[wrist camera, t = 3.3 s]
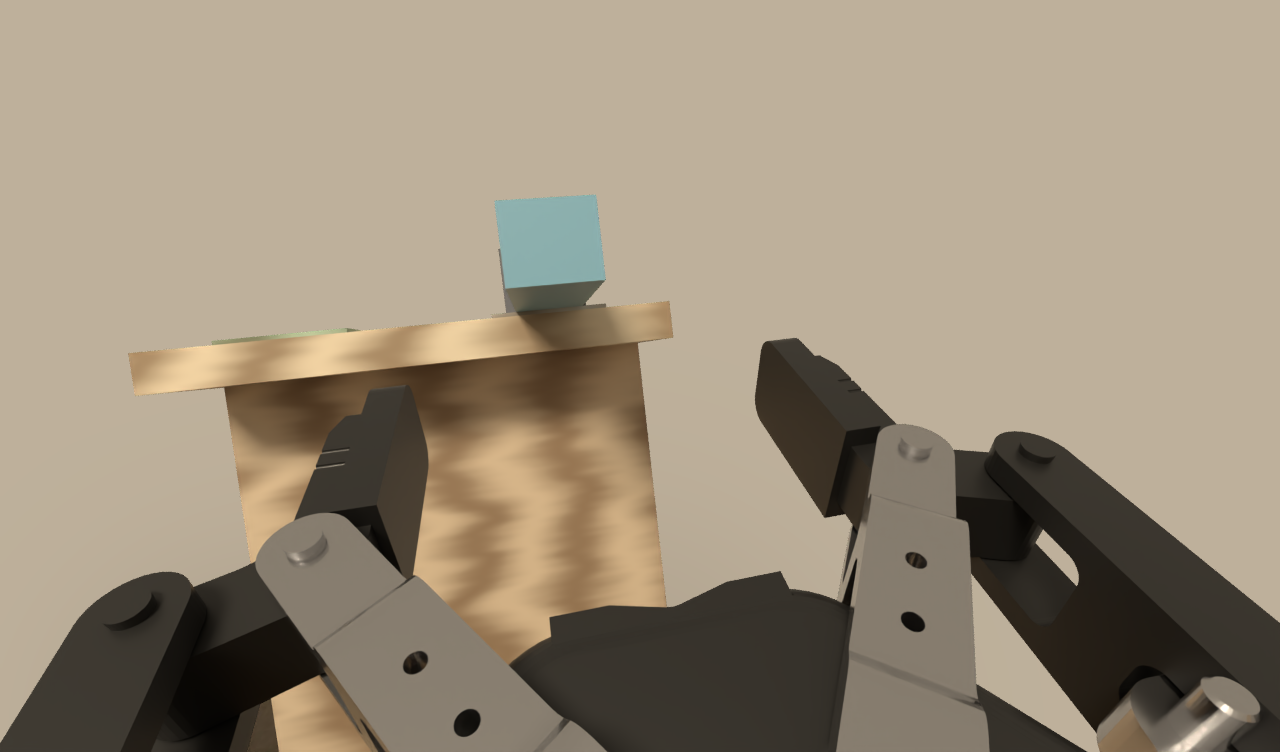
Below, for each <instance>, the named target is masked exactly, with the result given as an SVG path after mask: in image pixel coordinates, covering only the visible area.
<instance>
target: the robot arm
mask: <svg viewBox="0 0 1280 752" xmlns="http://www.w3.org/2000/svg"><path fill="white" fill-rule="evenodd" d="M755 405H756V410H757V414H758V417H759V419H760V421H761V422H762V424H763V425H764V427H765V428H766V430H767V431H768V433H769V434H770V436H771V437H772V439H773V441H774V442H775V443H776V445H777V447H778V448H779V450H780V451H781V453H782V454H783V455H784V457H785V459H786V460H787V461H788V463H789V465H790V466H791V468H792V469H793V471H794V472H795V474H796V475H797V477H798V478H799V480H800V481H801V483H802V484H803V486H804V487H805V489H806V490H807V492H808V493H809V495H810V496H811V498H812V499H813V501H814V502H815V504H816V506H817V507H818V509H819V510H820V511H821V513H822V515H823V516H824V517H825V518H826V517H832V516H837V515H843V514H846V516H847V517H848V518H849V520H850V521H851V523H852V526H851V529H850V533H849V538H848V544H847V549H846V554H845V560H844V565H843V571H842V576H841V582H840V588H839V592H838V597H837V600H835V599H832V598H829V597H827V596H824V595H820V594H816V593H813V592H809V591H802V590H796V589H789V587H788V585H787V583H786V581H785V579H784V578H783V575H782V573H781V571H779V572H774V573H769V574H764V575H759V576H754V577H749V578H744V579H739V580H734V581H729V582H726V583H724V584H721V585H719V586H717V587H715V588H713V589H711V590H709V591H707V592H705V593H703V594H701V595H699V596H697V597H694V598H692V599H690V600H688V601H686V602H684V603H682V604H680V605H677V606H675V607H645V606H617V605H608V606H603V607H598V608H593V609H588V610H583V611H578V612H573V613H568V614H563V615H558V616H553V617H549V620H550V631H551V637H549V638H547V639H545V640H543V641H541V642H539V643H537V644H536V645H534V646H532V647H531V648H529V649H528V650H526V651H525V652H523V653H522V654H521V655H520V656H518V657H517V658H516V659H514V660H513V661H512V662H511V663H510V664H509V665H508V664H507V663H506V662H505V661H504V660H503V659H502V658H501V657H500V656H499V655H498V654H497V653H496V652H495V651H494V650H493V649H492V648H491V647H490V646H489V645H488V644H487V643H486V642H485V641H484V640H483V639H482V638H481V637H480V636H479V635H478V634H477V633H476V632H475V631H474V630H473V629H472V628H471V627H470V626H469V625H468V624H467V623H466V622H465V621H464V620H463V619H462V618H461V617H460V616H459V615H458V614H457V613H456V612H455V611H454V610H453V609H452V608H451V607H450V606H449V605H448V604H447V603H446V602H445V601H444V600H443V599H442V598H441V597H440V596H439V595H438V594H437V593H436V592H435V591H434V590H433V589H432V588H431V587H430V586H429V585H428V584H427V583H425V582H424V581H423V580H422V579H421V578H420V577H418V576H416V575H413V572H414V565H415V558H416V551H417V545H418V538H419V531H420V524H421V517H422V510H423V503H424V497H425V490H426V483H427V476H428V468H429V459H428V449H427V443H426V439H425V436H424V432H423V429H422V425H421V421H420V418H419V414H418V411H417V407H416V403H415V400H414V396H413V393H412V390H411V388H410V386H409V385H402V386H393V387H385V388H376V389H371V390H370V391H369V393H368V395H367V398H366V401H365V404H364V407H363V410H362V413H361V414H357V415H349V416H345V417H344V418H343V419H342V420H341V421H340V422H339V423H338V424H337V425H336V426H335V427H334V428H333V429H332V430H331V431H330V432H329V434H328V436H327V439H326V441H325V444H324V446H323V449H322V454H320V456H319V459H318V461H317V464H316V469H314V471H313V474H312V476H311V479H310V481H309V484H308V486H307V489H306V491H305V494H304V496H303V499H302V501H301V504H300V506H299V509H298V511H297V514H296V516H295V519H294V521H293V522H291V523H289V524H287V525H285V526H284V527H282V528H280V529H279V530H278V531H276V532H275V533H274V534H273V535H272V536H270V537H269V538H268V539H267V540H266V542H265V543H264V544H263V545H262V547H261V548H260V550H259V552H258V554H257V557H256V561H255V562H253V563H251V564H249V565H248V566H246V567H243V568H241V569H239V570H236V571H234V572H231V573H229V574H226V575H224V576H221V577H219V578H216V579H213V580H211V581H208V582H206V583H203V584H200V585H198V586H195V587H193V586H192V584H191V583H190V582H189V580H188V578H186V577H185V576H184V575H182V574H179V573H175V572H159V573H153V574H149V575H145V576H142V577H139V578H136V579H133V580H131V581H129V582H127V583H124V584H122V585H121V586H119V587H117V588H115V589H113V590H112V591H110V592H109V593H107V594H105V595H104V596H103V597H101V598H100V599H99V600H97V601H96V602H95V603H93V605H91V606H90V607H89V608H88V609H87V610H86V611H85V612H84V613H83V614H82V615H81V616H80V617H79V619H78V620H77V621H76V623H75V624H74V626H73V627H72V629H71V631H70V632H69V634H68V635H67V637H66V638H65V640H64V642H63V643H62V645H61V647H60V648H59V650H58V651H57V653H56V654H55V656H54V658H53V659H52V661H51V663H50V664H49V666H48V667H47V669H46V671H45V672H44V674H43V675H42V677H41V679H40V680H39V682H38V683H37V685H36V687H35V688H34V690H33V692H32V694H31V695H30V696H29V698H28V699H27V701H26V703H25V704H24V706H23V708H22V709H21V711H20V712H19V714H18V716H17V717H16V719H15V720H14V722H13V724H12V725H11V727H10V728H9V730H8V732H7V733H6V735H5V736H4V738H3V740H2V741H1V743H0V752H247V749H248V746H249V742H250V739H251V735H252V732H253V728H254V724H255V721H256V717H257V714H258V710H259V706H260V704H261V703H263V702H265V701H267V700H269V699H271V698H273V697H275V696H277V695H279V694H281V693H283V692H285V691H287V690H290V689H292V688H294V687H296V686H298V685H300V684H302V683H304V682H306V681H308V680H310V679H312V678H314V677H316V676H318V675H319V677H320V678H321V680H322V681H323V683H324V684H325V686H326V687H327V688H328V690H329V691H330V693H331V694H332V696H333V697H334V699H335V700H336V701H337V703H338V704H339V706H340V707H341V709H342V710H343V711H344V713H345V714H346V716H347V717H348V719H349V720H350V722H351V723H352V724H353V726H354V727H355V729H356V730H357V732H358V733H359V735H360V736H361V737H362V739H363V740H364V742H365V743H366V745H367V746H368V748H369V749H370V751H371V752H1086V751H1085V750H1083V749H1082V748H1080V747H1078V746H1077V745H1075V744H1073V743H1072V742H1070V741H1068V740H1067V739H1065V738H1064V737H1062V736H1060V735H1059V734H1057V733H1056V732H1054V731H1052V730H1051V729H1049V728H1047V727H1046V726H1044V725H1043V724H1041V723H1039V722H1038V721H1036V720H1034V719H1033V718H1031V717H1030V716H1028V715H1026V714H1025V713H1023V712H1021V711H1020V710H1018V709H1016V708H1015V707H1013V706H1012V705H1010V704H1008V703H1007V702H1005V701H1003V700H1002V699H1000V698H999V697H997V696H995V695H994V694H992V693H990V692H989V691H987V690H985V689H984V688H982V687H981V686H979V685H977V684H976V669H975V648H974V626H973V607H972V585H971V574H972V575H973V576H974V578H975V579H976V580H977V581H978V583H979V584H980V585H981V586H982V588H983V589H984V590H985V591H986V593H987V594H988V595H989V597H990V598H991V599H992V600H993V601H994V603H995V604H996V605H997V607H998V608H999V609H1000V611H1001V612H1002V613H1003V614H1004V616H1005V617H1006V618H1007V619H1008V621H1009V622H1010V623H1011V625H1012V626H1013V627H1014V629H1015V630H1016V631H1017V632H1018V633H1019V635H1020V636H1021V637H1022V639H1023V640H1024V641H1025V643H1026V644H1027V645H1028V646H1029V648H1030V649H1031V650H1032V651H1033V653H1034V654H1035V655H1036V656H1037V658H1038V659H1039V660H1040V662H1041V663H1042V664H1043V666H1044V667H1045V668H1046V669H1047V670H1048V672H1049V673H1050V674H1051V676H1052V677H1053V678H1054V679H1055V681H1056V682H1057V683H1058V684H1059V686H1060V687H1061V688H1062V690H1063V691H1064V692H1065V694H1066V695H1067V696H1068V697H1069V699H1070V700H1071V701H1072V702H1073V704H1074V705H1075V706H1076V708H1077V709H1078V710H1079V711H1080V713H1081V714H1082V715H1083V716H1084V718H1085V719H1086V720H1087V722H1088V723H1089V724H1090V725H1091V727H1092V728H1093V729H1094V730H1095V732H1096V733H1097V743H1098V747H1099V750H1100V752H1280V623H1279V622H1278V621H1277V620H1275V619H1274V618H1273V617H1272V616H1270V615H1269V614H1268V613H1267V612H1266V611H1264V610H1263V609H1262V608H1261V607H1259V606H1258V605H1257V604H1256V603H1254V602H1253V601H1252V600H1251V599H1250V598H1248V597H1247V596H1246V595H1245V594H1244V593H1242V592H1241V591H1240V590H1238V589H1237V588H1236V587H1235V586H1234V585H1232V584H1231V583H1230V582H1229V581H1227V580H1226V579H1225V578H1224V577H1223V576H1221V575H1220V574H1219V573H1218V572H1216V571H1215V570H1214V569H1213V568H1211V567H1210V566H1209V565H1208V564H1207V563H1205V562H1204V561H1203V560H1202V559H1200V558H1199V557H1198V556H1197V555H1195V554H1194V553H1193V552H1192V551H1191V550H1189V549H1188V548H1187V547H1186V546H1184V545H1183V544H1182V543H1180V542H1179V541H1178V540H1177V539H1176V538H1175V537H1173V536H1172V535H1171V534H1170V533H1168V532H1167V531H1166V530H1165V529H1164V528H1162V527H1161V526H1160V525H1159V524H1157V523H1156V522H1155V521H1154V520H1152V519H1151V518H1150V517H1149V516H1148V515H1146V514H1145V513H1144V512H1143V511H1141V510H1140V509H1139V508H1138V507H1137V506H1135V505H1134V504H1133V503H1132V502H1130V501H1129V500H1128V499H1127V498H1125V497H1124V496H1123V495H1122V494H1120V493H1119V492H1118V491H1117V490H1116V489H1114V488H1113V487H1112V486H1111V485H1109V484H1108V483H1107V482H1106V481H1104V480H1103V479H1102V478H1101V477H1100V476H1098V475H1097V474H1096V473H1095V472H1093V471H1092V470H1091V469H1089V467H1087V466H1086V465H1085V464H1084V463H1082V462H1081V461H1080V460H1078V459H1077V458H1076V457H1075V456H1074V455H1072V454H1071V453H1070V452H1069V451H1068V450H1066V449H1065V448H1064V447H1062V446H1060V445H1059V444H1057V443H1055V442H1053V441H1051V440H1049V439H1047V438H1044V437H1042V436H1038V435H1035V434H1031V433H1025V432H1015V431H1014V432H1005V433H1002V434H1000V435H998V436H997V437H996V438H995V440H994V442H993V444H992V447H991V449H990V451H989V452H976V451H975V452H974V451H963V450H953V448H952V447H951V446H950V444H949V443H948V442H947V441H946V440H945V439H943V438H942V437H941V436H939V435H937V434H936V433H934V432H932V431H929V430H927V429H924V428H921V427H918V426H913V425H906V424H896V423H895V422H894V421H893V420H892V419H891V418H890V417H889V416H888V415H887V414H886V413H885V412H884V411H883V410H882V409H881V408H880V407H879V406H878V405H877V404H876V403H875V402H874V401H873V400H872V399H871V398H870V397H869V396H868V395H867V394H866V393H865V392H864V391H861V388H860V387H859V386H858V385H857V384H856V383H855V382H854V381H851V378H850V377H849V376H848V375H847V374H846V373H845V372H844V371H843V370H842V369H841V368H840V367H839V366H838V365H836V364H835V363H833V362H831V361H829V360H827V359H825V358H823V357H821V356H814V355H813V354H812V353H811V352H810V351H809V349H808V348H807V347H806V346H805V345H804V344H802V342H801V341H800V340H799V339H797V338H791V339H782V340H774V341H767V342H765V343H764V344H763V346H762V349H761V355H760V363H759V371H758V378H757V385H756V393H755ZM1043 529H1044V531H1045V532H1047V534H1048V535H1049V536H1050V537H1051V538H1053V540H1054V541H1055V542H1056V543H1057V544H1058V545H1059V546H1060V547H1061V548H1062V549H1063V550H1064V551H1065V552H1066V553H1067V554H1068V555H1069V556H1070V557H1071V558H1072V560H1073V561H1074V563H1075V565H1076V567H1077V570H1078V574H1079V582H1078V585H1077V586H1076V585H1075V584H1074V583H1073V582H1072V581H1071V580H1070V579H1069V578H1068V577H1067V576H1066V575H1065V574H1064V573H1063V572H1062V571H1061V570H1060V568H1059V567H1058V566H1057V565H1056V564H1055V563H1054V562H1053V561H1052V560H1051V559H1050V558H1049V557H1048V556H1047V555H1046V554H1045V553H1044V552H1043V551H1042V549H1040V548H1039V546H1038V545H1037V544H1036V541H1037V539H1038V537H1039V535H1040V534H1041V532H1042V530H1043Z"/></svg>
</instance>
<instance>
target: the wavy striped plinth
mask: <svg viewBox="0 0 1280 752" xmlns="http://www.w3.org/2000/svg"><path fill="white" fill-rule="evenodd" d="M667 338H673V332H672V323H671V313H670V304H669V301H667V302H656V303H646V304H635V305H625V306H614V307H606V304H596V305H586V306H575V307H565V308H554V309H544V310H533V311H523V312H512V313H502V314H492V318H490V319H480V320H469V321H459V322H448V323H438V324H428V325H419V326H407V327H397V328H386V329H376V330H365V331H361V330H355V329H348V328H344V329H333V330H323V331H312V332H302V333H291V334H281V335H271V336H260V337H250V338H240V339H228V340H218V341H212V345H210V346H200V347H189V348H179V349H169V350H158V351H148V352H137V353H129V361H130V367H131V373H132V379H133V386H134V392H135V396H139V395H150V394H161V393H171V392H182V391H192V390H202V389H213V388H225V396H226V402H227V408H228V416H229V421H230V429H231V435H232V442H233V449H234V455H235V462H236V469H237V475H238V481H239V488H240V495H241V502H242V509H243V515H244V522H245V528H246V535H247V541H248V548H249V555H250V562H251V563H253V562H255V561H256V557H257V554H258V552H259V550H260V548H261V547H262V545H263V544H264V543H265V542H266V540H267V539H268V538H269V537H270V536H272V535H273V534H274V533H275V532H276V531H278V530H279V529H280V528H282V527H284V526H285V525H287V524H289V523H291V522H293V521H294V519H295V516H296V514H297V511H298V509H299V506H300V504H301V501H302V499H303V496H304V494H305V491H306V489H307V486H308V484H309V481H310V479H311V476H312V474H313V471H314V469H316V464H317V461H318V459H319V456H320V454H322V449H323V446H324V444H325V441H326V439H327V436H328V434H329V432H330V431H331V430H332V429H333V428H334V427H335V426H336V425H337V424H338V423H339V422H340V421H341V420H342V419H343V418H344V417H345V416H349V415H357V414H361V413H362V410H363V407H364V404H365V401H366V398H367V395H368V393H369V391H370V390H371V389H376V388H385V387H393V386H402V385H409V386H410V388H411V390H412V393H413V396H414V400H415V403H416V407H417V411H418V414H419V418H420V421H421V425H422V429H423V432H424V436H425V439H426V443H427V449H428V459H429V468H428V476H427V483H426V490H425V497H424V503H423V510H422V517H421V524H420V531H419V538H418V545H417V551H416V558H415V565H414V572H413V575H416V576H418V577H420V578H421V579H422V580H423V581H424V582H425V583H427V584H428V585H429V586H430V587H431V588H432V589H433V590H434V591H435V592H436V593H437V594H438V595H439V596H440V597H441V598H442V599H443V600H444V601H445V602H446V603H447V604H448V605H449V606H450V607H451V608H452V609H453V610H454V611H455V612H456V613H457V614H458V615H459V616H460V617H461V618H462V619H463V620H464V621H465V622H466V623H467V624H468V625H469V626H470V627H471V628H472V629H473V630H474V631H475V632H476V633H477V634H478V635H479V636H480V637H481V638H482V639H483V640H484V641H485V642H486V643H487V644H488V645H489V646H490V647H491V648H492V649H493V650H494V651H495V652H496V653H497V654H498V655H499V656H500V657H501V658H502V659H503V660H504V661H505V662H506V663H507V664H508V665H509V664H510V663H511V662H512V661H513V660H514V659H516V658H517V657H518V656H520V655H521V654H522V653H523V652H525V651H526V650H528V649H529V648H531V647H532V646H534V645H536V644H537V643H539V642H541V641H543V640H545V639H547V638H549V637H551V631H550V620H549V617H553V616H558V615H563V614H568V613H573V612H578V611H583V610H588V609H593V608H598V607H603V606H608V605H617V606H645V607H666V606H667V605H666V596H665V587H664V578H663V570H662V560H661V551H660V542H659V533H658V524H657V515H656V505H655V496H654V488H653V478H652V469H651V461H650V451H649V442H648V433H647V424H646V415H645V406H644V396H643V387H642V379H641V369H640V361H639V352H638V343H640V342H646V341H653V340H660V339H667ZM271 701H272V708H273V714H274V721H275V728H276V734H277V741H278V748H279V752H371V751H370V749H369V748H368V746H367V745H366V743H365V742H364V740H363V739H362V737H361V736H360V735H359V733H358V732H357V730H356V729H355V727H354V726H353V724H352V723H351V722H350V720H349V719H348V717H347V716H346V714H345V713H344V711H343V710H342V709H341V707H340V706H339V704H338V703H337V701H336V700H335V699H334V697H333V696H332V694H331V693H330V691H329V690H328V688H327V687H326V686H325V684H324V683H323V681H322V680H321V678H320V677H319V675H318V676H316V677H314V678H312V679H310V680H308V681H306V682H304V683H302V684H300V685H298V686H296V687H294V688H292V689H290V690H287V691H285V692H283V693H281V694H279V695H277V696H275V697H273V698H271Z"/></svg>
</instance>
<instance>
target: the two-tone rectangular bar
mask: <svg viewBox="0 0 1280 752" xmlns="http://www.w3.org/2000/svg"><path fill="white" fill-rule="evenodd" d="M495 209H496V217H497V225H498V233H499V242H500V249H499V256H500V265H501V274H502V281H503V290H504V298H505V306H506V313H512V312H523V311H533V310H544V309H554V308H565V307H575V306H586V301H587V300H588V299H589V298H590V297H591V296H592V295H593V293H594V292H595V291H596V290H597V289H598V288H599V287H600V286H601V284H602V283H603V282H604V281H605V280H606V279H605V271H604V261H603V253H602V243H601V235H600V226H599V217H598V208H597V199H596V195H583V196H567V197H550V198H533V199H516V200H499V201H495Z"/></svg>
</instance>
